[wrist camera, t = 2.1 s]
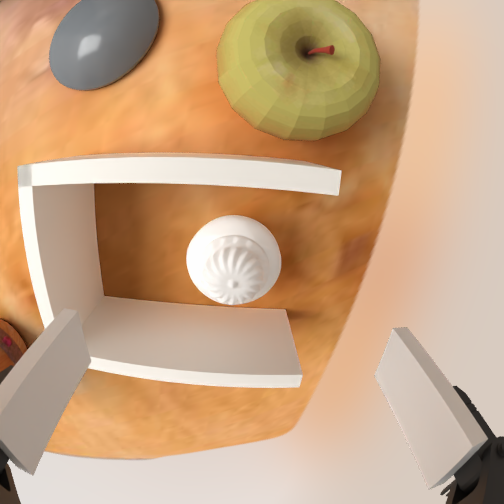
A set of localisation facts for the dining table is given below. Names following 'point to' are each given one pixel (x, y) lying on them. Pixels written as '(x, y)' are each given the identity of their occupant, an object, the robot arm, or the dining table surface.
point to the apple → (298, 67)
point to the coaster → (102, 41)
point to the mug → (10, 346)
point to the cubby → (153, 312)
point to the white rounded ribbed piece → (233, 260)
